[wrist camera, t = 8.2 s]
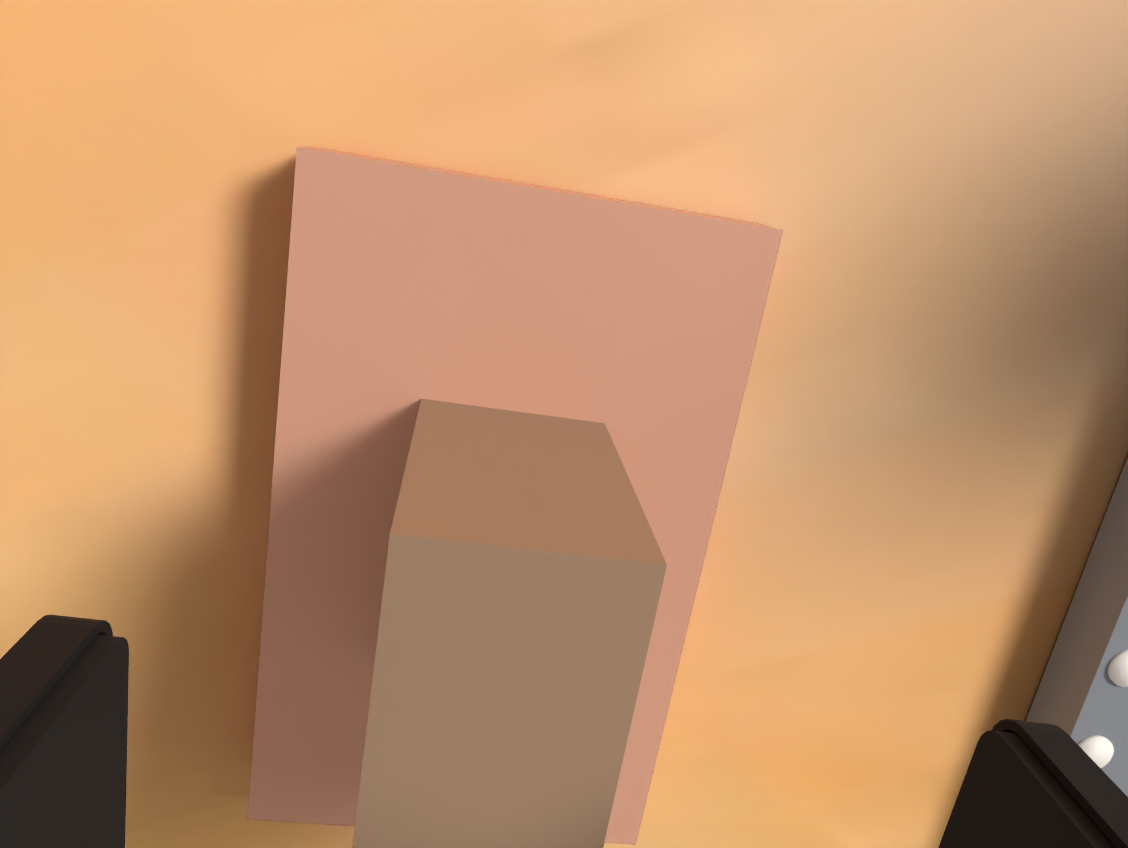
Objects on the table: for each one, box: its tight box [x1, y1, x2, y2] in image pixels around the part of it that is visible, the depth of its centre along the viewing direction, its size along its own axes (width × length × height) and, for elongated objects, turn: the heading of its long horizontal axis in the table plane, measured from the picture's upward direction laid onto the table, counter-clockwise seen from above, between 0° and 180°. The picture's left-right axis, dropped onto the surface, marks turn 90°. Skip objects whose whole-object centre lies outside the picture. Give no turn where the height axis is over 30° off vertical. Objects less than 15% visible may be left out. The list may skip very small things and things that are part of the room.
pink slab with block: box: [247, 147, 783, 848], centre depth 13 cm, size 7×12×6 cm, turn 171°
